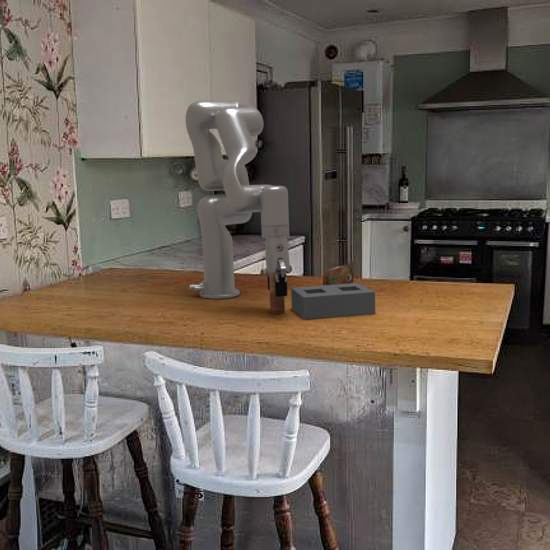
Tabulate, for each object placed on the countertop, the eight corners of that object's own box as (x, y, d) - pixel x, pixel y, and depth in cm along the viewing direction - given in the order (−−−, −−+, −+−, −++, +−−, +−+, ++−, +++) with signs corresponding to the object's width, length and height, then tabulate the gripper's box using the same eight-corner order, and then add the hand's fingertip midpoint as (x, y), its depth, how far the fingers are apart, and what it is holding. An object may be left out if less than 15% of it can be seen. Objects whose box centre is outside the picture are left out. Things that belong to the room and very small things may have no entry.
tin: (329, 298, 211) (329, 270, 209) (321, 297, 212) (320, 270, 211) (354, 289, 222) (354, 263, 221) (345, 288, 224) (345, 263, 223)
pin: (272, 314, 191) (270, 272, 189) (269, 311, 195) (267, 269, 193) (286, 313, 192) (285, 271, 190) (283, 310, 195) (281, 268, 193)
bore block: (304, 319, 185) (303, 297, 184) (291, 308, 198) (291, 287, 197) (375, 313, 189) (375, 292, 188) (358, 303, 202) (357, 282, 201)
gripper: (296, 233, 182) (298, 297, 184) (281, 227, 198) (283, 286, 201) (268, 235, 180) (270, 300, 183) (255, 229, 197) (258, 288, 200)
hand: (277, 293), depth 192 cm, fingers open, 9 cm apart
